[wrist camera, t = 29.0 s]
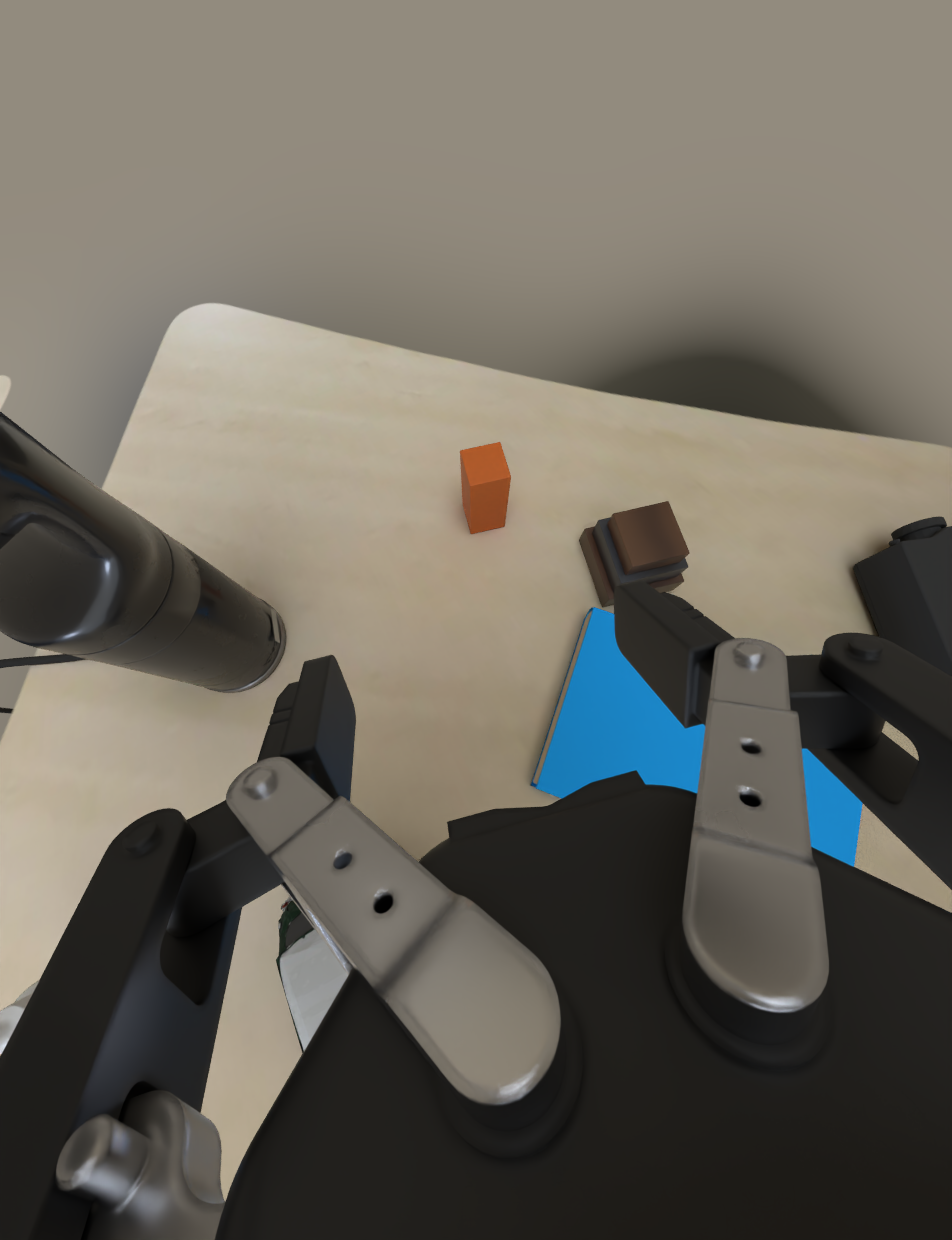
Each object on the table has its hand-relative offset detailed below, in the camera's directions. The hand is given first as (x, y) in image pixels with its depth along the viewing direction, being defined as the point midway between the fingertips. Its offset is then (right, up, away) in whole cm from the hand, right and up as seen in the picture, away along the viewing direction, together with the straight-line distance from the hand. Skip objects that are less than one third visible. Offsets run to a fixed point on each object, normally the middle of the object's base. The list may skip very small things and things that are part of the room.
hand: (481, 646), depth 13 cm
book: (+19, -11, +29) cm, 36 cm away
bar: (+1, +12, +35) cm, 37 cm away
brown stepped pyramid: (+15, +6, +34) cm, 37 cm away
